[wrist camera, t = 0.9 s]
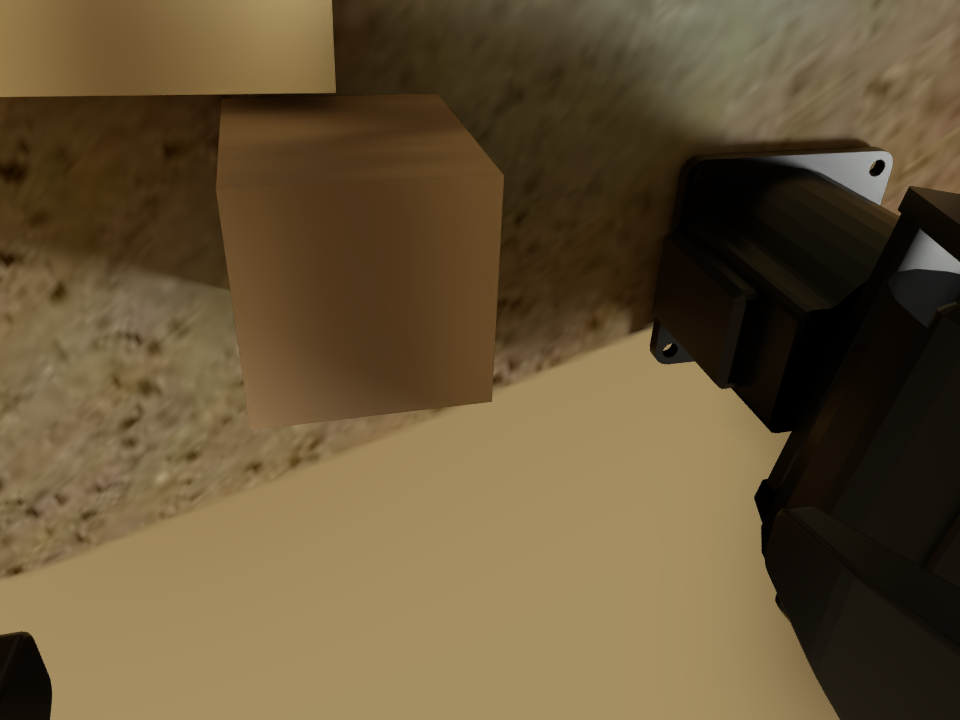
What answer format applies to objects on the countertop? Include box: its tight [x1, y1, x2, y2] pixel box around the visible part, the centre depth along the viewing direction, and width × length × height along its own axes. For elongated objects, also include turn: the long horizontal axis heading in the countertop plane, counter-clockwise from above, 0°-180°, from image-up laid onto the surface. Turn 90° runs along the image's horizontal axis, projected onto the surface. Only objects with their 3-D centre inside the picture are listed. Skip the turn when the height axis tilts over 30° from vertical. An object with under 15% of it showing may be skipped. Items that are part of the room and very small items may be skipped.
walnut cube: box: [216, 93, 504, 430], centre depth 18 cm, size 5×5×6 cm
